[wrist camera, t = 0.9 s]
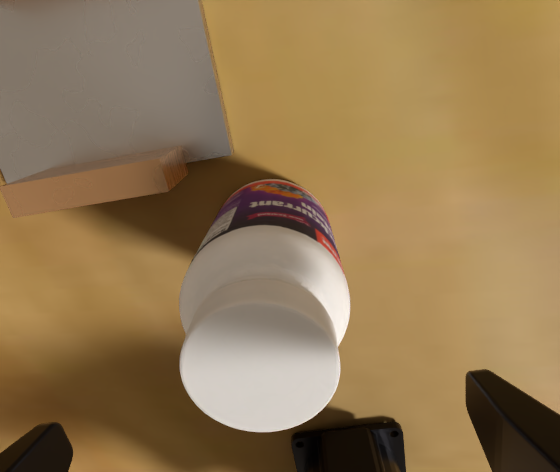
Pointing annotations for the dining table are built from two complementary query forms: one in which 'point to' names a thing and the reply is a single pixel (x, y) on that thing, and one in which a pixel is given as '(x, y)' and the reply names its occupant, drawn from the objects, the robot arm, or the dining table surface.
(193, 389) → the pill bottle
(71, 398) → the dining table surface
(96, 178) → the grey block with slats
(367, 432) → the robot arm
